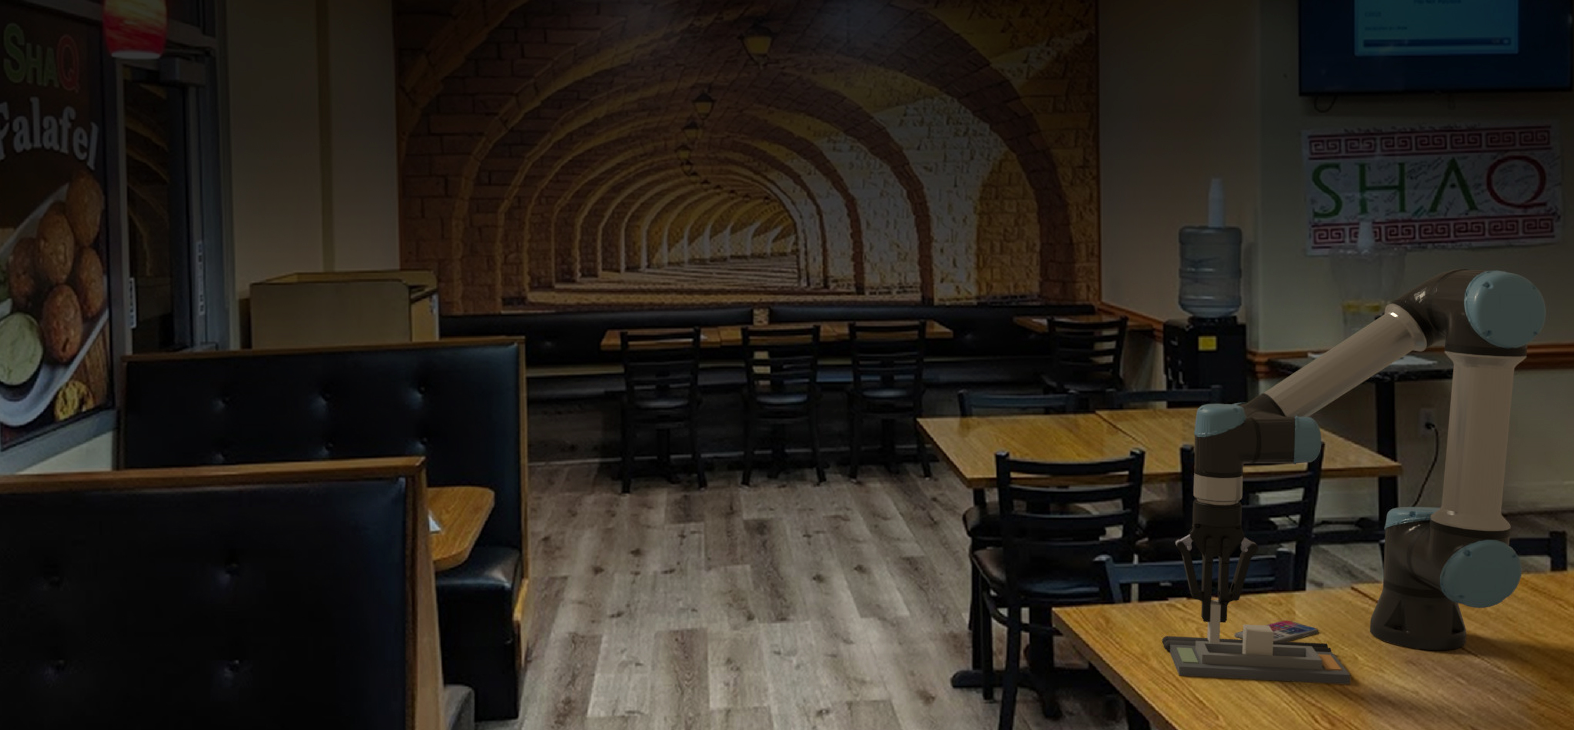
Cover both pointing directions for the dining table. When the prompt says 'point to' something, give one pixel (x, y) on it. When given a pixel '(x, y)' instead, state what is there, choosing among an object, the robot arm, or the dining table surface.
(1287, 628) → the smartphone
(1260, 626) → the block
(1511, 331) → the robot arm
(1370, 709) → the dining table surface
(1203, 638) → the dark grey rod
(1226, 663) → the panel
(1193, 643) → the cord
